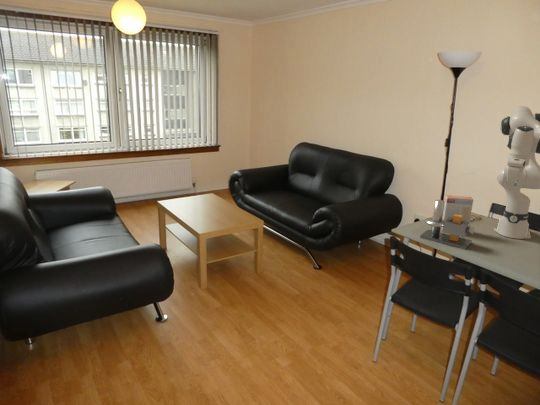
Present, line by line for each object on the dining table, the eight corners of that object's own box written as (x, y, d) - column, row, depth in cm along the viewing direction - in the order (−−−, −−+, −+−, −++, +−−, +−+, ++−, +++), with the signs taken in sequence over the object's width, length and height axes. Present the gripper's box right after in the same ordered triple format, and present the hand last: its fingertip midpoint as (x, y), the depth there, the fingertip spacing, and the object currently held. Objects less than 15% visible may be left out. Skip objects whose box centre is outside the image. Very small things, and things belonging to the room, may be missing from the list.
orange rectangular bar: (450, 237, 218) (454, 213, 213) (458, 239, 215) (462, 215, 211) (449, 239, 215) (453, 215, 211) (457, 241, 213) (461, 216, 209)
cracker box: (465, 230, 234) (471, 196, 228) (467, 233, 228) (474, 199, 222) (440, 227, 237) (445, 194, 231) (442, 231, 232) (447, 197, 225)
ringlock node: (427, 231, 230) (432, 196, 224) (473, 243, 215) (480, 205, 208) (420, 237, 221) (425, 201, 215) (467, 250, 206) (474, 211, 200)
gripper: (515, 156, 201) (509, 183, 205) (507, 162, 186) (501, 190, 190) (529, 158, 197) (523, 185, 201) (522, 164, 182) (516, 193, 186)
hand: (512, 188), depth 195 cm, fingers open, 8 cm apart
